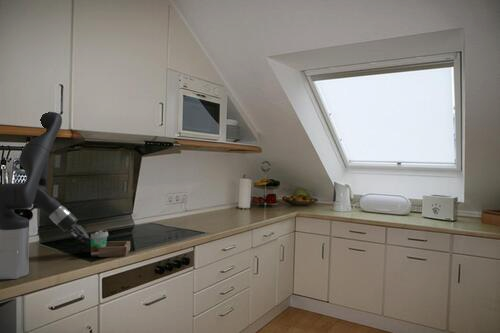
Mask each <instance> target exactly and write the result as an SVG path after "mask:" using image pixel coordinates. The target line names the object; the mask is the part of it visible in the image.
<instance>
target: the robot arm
mask: <svg viewBox="0 0 500 333" xmlns="http://www.w3.org/2000/svg"><path fill="white" fill-rule="evenodd" d="M40 121H41V124H42V126H43V127H44V128H46V129H47V130H46V132H43V133H40V136H31V135H30V140H29V141H27V142H26V144H25V145H24V146H23V148H22V150H21V153H20V155H19V163H20V166H21V168H22V170H23V172H24V173H25V175H26V179H25V181H24V182H23V183H22V182H21V183H20V182H9V183H8V182H7V183H6V182H5V183H2V184H0V280H15V279H16V280H17V279H19V278H22V277H25V276H28V274H29V273H30V272H29V270H30V268H29V266H30V265H29V264H30V257H29V256H30V255H29V254H30V220H29V219H28V218H27V217H24V216H21V215H19V214H18V213H15V211H14V209H15V210H23V209H24V210H25V209H29V208H30V207H31V206H32V205H33V206H35V207H37V208H38V209H40V210H41V212H43V213H44V214H45V215H46V216H47V217H49V219H50V220H51V221H52V222H53V223H54V224H55V225H56V226H57V227H58V228H59V229H60V230H61V231H63V232H66V231H67V232H68V231H69V233H70V234H71V237H72V238H74V239H75V240H77V241H79V242H80V243H81V242H83V243H85V244H86V245H87V246H88V247H90V248H91V237H89V233H88V231H87V230H86V229H85V227H84V226H82V225H80V224H78V223H77V222H78V220H79V219H78V218H77V217H76V216H75V215H74V214H73V213H72V212H71V211H70V210H68V208H66V207H65V206H64V205H62V204H61V203H60V202H59V201H58V200H57V199H56V198H54V197H51V196H50V195H48V193H47V190H48V181H47V180H48V179H47V175H48V171H49V164H50V162H49V156H50V153H51V150H52V147H53V144H54V142H55V140H56V138H57V136H58V134H59V132H60V129H61V127H62V123H63V117H62V115H61V114H60V113H58V112H54V111H53V112H52V111H49V112H48V113H45V114H43V115H42V117H41V119H40Z"/></svg>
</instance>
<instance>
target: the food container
mask: <svg viewBox="0 0 500 333" xmlns="http://www.w3.org/2000/svg"><path fill="white" fill-rule="evenodd" d="M108 237H109V232H108V229H101V228H100V229H98V228H96V232H93V233H91V234H90V239H91V247H90V256H91V257H98V248H99V247H106V242H108V241H107V240H108Z"/></svg>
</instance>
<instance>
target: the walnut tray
mask: <svg viewBox="0 0 500 333" xmlns="http://www.w3.org/2000/svg"><path fill="white" fill-rule="evenodd" d="M130 250H131V240H120V241H119V240H118V241H115V240H114V241H106V247H99V248H98V256H97V257H98V258H106V257H107V258H110V257H112V258H113V257H127V255H128V254H129V252H130Z"/></svg>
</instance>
